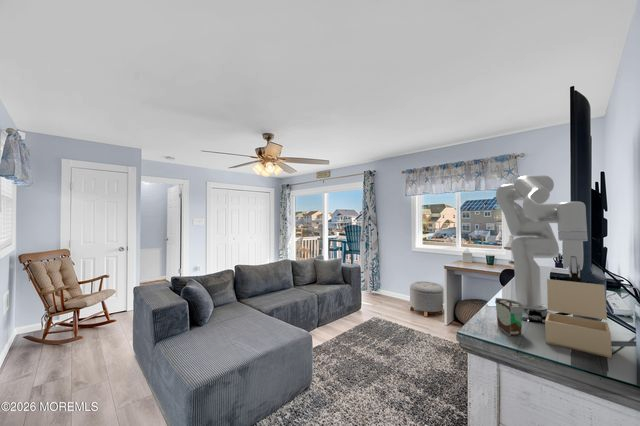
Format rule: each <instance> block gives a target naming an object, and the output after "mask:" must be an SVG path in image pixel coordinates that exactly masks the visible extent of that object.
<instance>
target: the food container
mask: <svg viewBox="0 0 640 426" xmlns="http://www.w3.org/2000/svg"><path fill="white" fill-rule="evenodd" d="M494 301H495V302H494V304H495V307H496V309H495V310H496V318H497V320H496V322H497V323H496V324H497V327H498V328H499V329H500V330H502V331H503V332H504V333H505V334H507V335H508V336H509V337H519V336H520V337H521V335H522V327H523V326H522V325H523V321H522V317H523V314H524V313H525V312H526V310H525V308H524V307H523V305H522V304H521V303H519V302H517V301H513V299H512V300H511V299H507V298H501V297H495V300H494Z"/></svg>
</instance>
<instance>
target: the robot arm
mask: <svg viewBox="0 0 640 426" xmlns="http://www.w3.org/2000/svg"><path fill="white" fill-rule="evenodd" d="M554 185H555V182H554V180H553V179H552V177H551V176H550V175H549V176H548V175H544V174H543V175H542V174H538V175H523V176H520V177H518V178H516V179H515V180H514V182H513V183H508V184H502V185H499V186H498V187H497V189H496V191H495V198H496V203H497V205H498V206H499V209H500V210H501V211H502V213H503V215H504V219H505V221H506V224H507V228H508V231H509V233H510V234H511V235H512V236H513V237H514V239H513V240H512V241H511V242H510V248H511V254H512V257H513V266H514V267H513V268H514V269H513V271H514V290H515V292H514V293H515V294H514V295H515V296H514V297H515V299H514V300H513V299H512V300H513V301H517V302H519V303H521V304H522V305H523V307H524V310H525V309H526V310H528V309H536V310H540V311H545V310H547V305H545V304H543V302H542V282H541V281H542V279H541V268H540V266H539V264H538V263H537V262H536V260H534V259H553V258H557V256H558V255H559V253H560V247H559V243H558V241H561V242H562V245H561V246H562V247H561V248H562V249H561V250H562V266H563V267H562V268H563V269H565V270H566V269H567V268H568V271H569V272H568V273H569V275H568V281H571V282H581V283H583V282H582V277H581V271H582V270H583V268H584V267H583V266H584V242H588V227H587V226H588V224H587V212H586V211H587V208H586V204H585V203H584V202H582V201H564V202H560V203H559V202H558V203H546V202H547V201H548V200H549V199H550V196H551V195H550V193H551V192H552V191H553V190H554ZM515 201H523V202H522V205H520V204H519V203H517V202H515ZM551 224H557V232H558V233H557V235H558V236H557V237H558V238H556V236H555V234H554V232H553V229H552V227H551ZM515 237H516V238H515ZM557 239H558V241H557Z"/></svg>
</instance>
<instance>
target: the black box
mask: <svg viewBox="0 0 640 426" xmlns="http://www.w3.org/2000/svg"><path fill="white" fill-rule="evenodd" d="M541 311H542V310H536V309H527V312H526V315H527V316H526V317H525V316H522V322H528V323H535V324H536V323H537V324H542V325H545V319H543V316H544V315H543V314H542V312H541Z"/></svg>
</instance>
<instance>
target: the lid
mask: <svg viewBox="0 0 640 426" xmlns="http://www.w3.org/2000/svg"><path fill="white" fill-rule="evenodd" d="M581 282H582V281H581ZM581 282H571V281H569V280H560V279H553V278H552V279H551V278H550V279H549V278H546V287H547V288H546V290H547V292H546V293H547V294H546V295H547V299H546V300H547V311H551V312H557V313H561V314H563V313H564V314H569V315H575V316H580V317H581V316H582V317H587V318H593V319H599V320H605V321H607V320H608V316H607V315H608V314H607V300H606V299H607V298H606V287H605V286H606V285H605V284H598V283H590V282H589V283H587V282H582V283H581Z"/></svg>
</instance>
